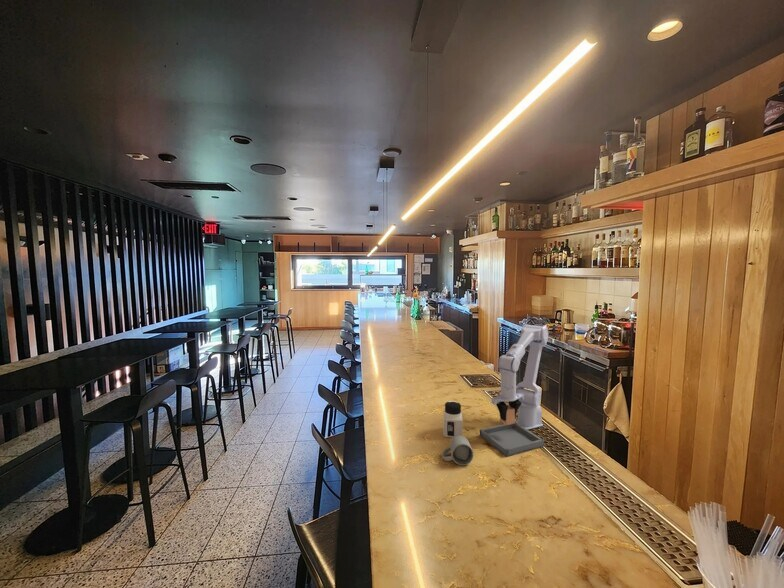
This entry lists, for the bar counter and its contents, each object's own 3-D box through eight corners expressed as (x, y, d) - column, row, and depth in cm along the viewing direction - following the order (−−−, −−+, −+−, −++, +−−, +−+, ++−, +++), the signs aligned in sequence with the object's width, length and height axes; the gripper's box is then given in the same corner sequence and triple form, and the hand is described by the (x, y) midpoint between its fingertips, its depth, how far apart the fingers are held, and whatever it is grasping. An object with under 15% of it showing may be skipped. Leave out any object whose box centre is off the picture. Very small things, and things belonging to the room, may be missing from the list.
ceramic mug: (468, 452, 117) (468, 432, 116) (473, 465, 109) (473, 444, 108) (440, 452, 117) (439, 433, 117) (443, 466, 109) (443, 445, 108)
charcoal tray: (514, 427, 135) (514, 421, 135) (544, 446, 120) (544, 440, 120) (479, 435, 129) (479, 429, 128) (506, 456, 114) (506, 450, 113)
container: (462, 438, 126) (462, 407, 126) (443, 436, 128) (443, 406, 127) (462, 429, 134) (462, 399, 133) (443, 427, 136) (443, 398, 135)
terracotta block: (507, 419, 128) (507, 404, 128) (514, 423, 124) (514, 408, 124) (499, 420, 127) (499, 406, 126) (506, 425, 123) (506, 410, 123)
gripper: (515, 380, 130) (515, 411, 131) (486, 384, 126) (486, 417, 126) (528, 385, 124) (527, 418, 125) (498, 390, 119) (498, 425, 120)
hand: (507, 418), depth 125 cm, fingers closed on terracotta block, 4 cm apart
